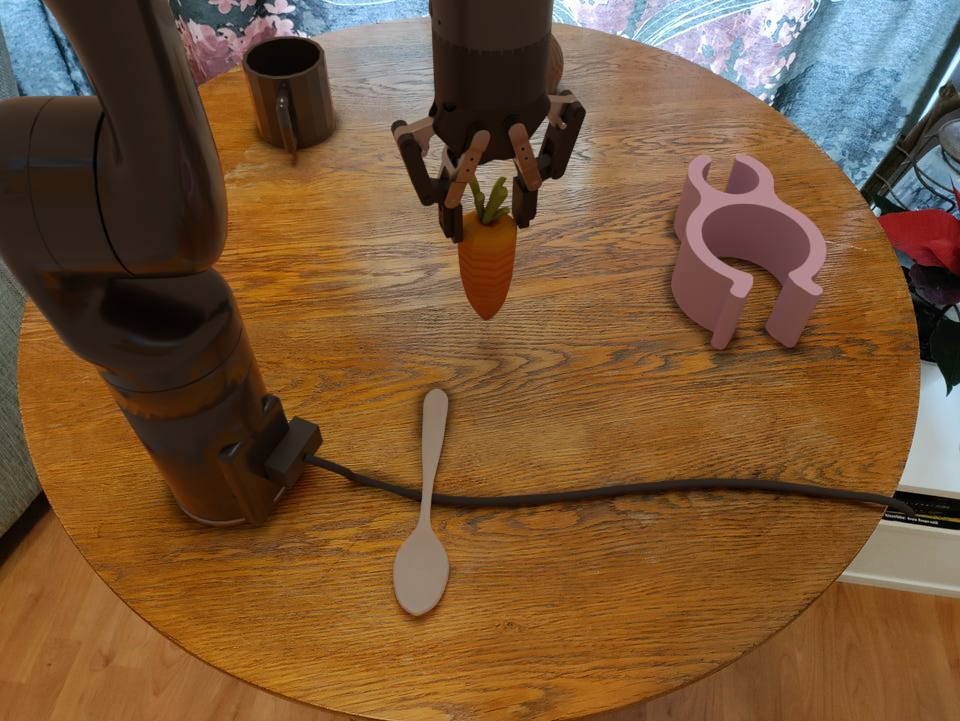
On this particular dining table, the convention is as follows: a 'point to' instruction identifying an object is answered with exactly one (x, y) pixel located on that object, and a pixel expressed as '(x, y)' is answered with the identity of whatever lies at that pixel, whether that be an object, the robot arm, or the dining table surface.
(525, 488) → the dining table surface
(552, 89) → the vase
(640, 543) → the dining table surface
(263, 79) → the mug
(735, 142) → the dining table surface
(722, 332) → the clip
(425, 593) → the spoon
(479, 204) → the carrot
